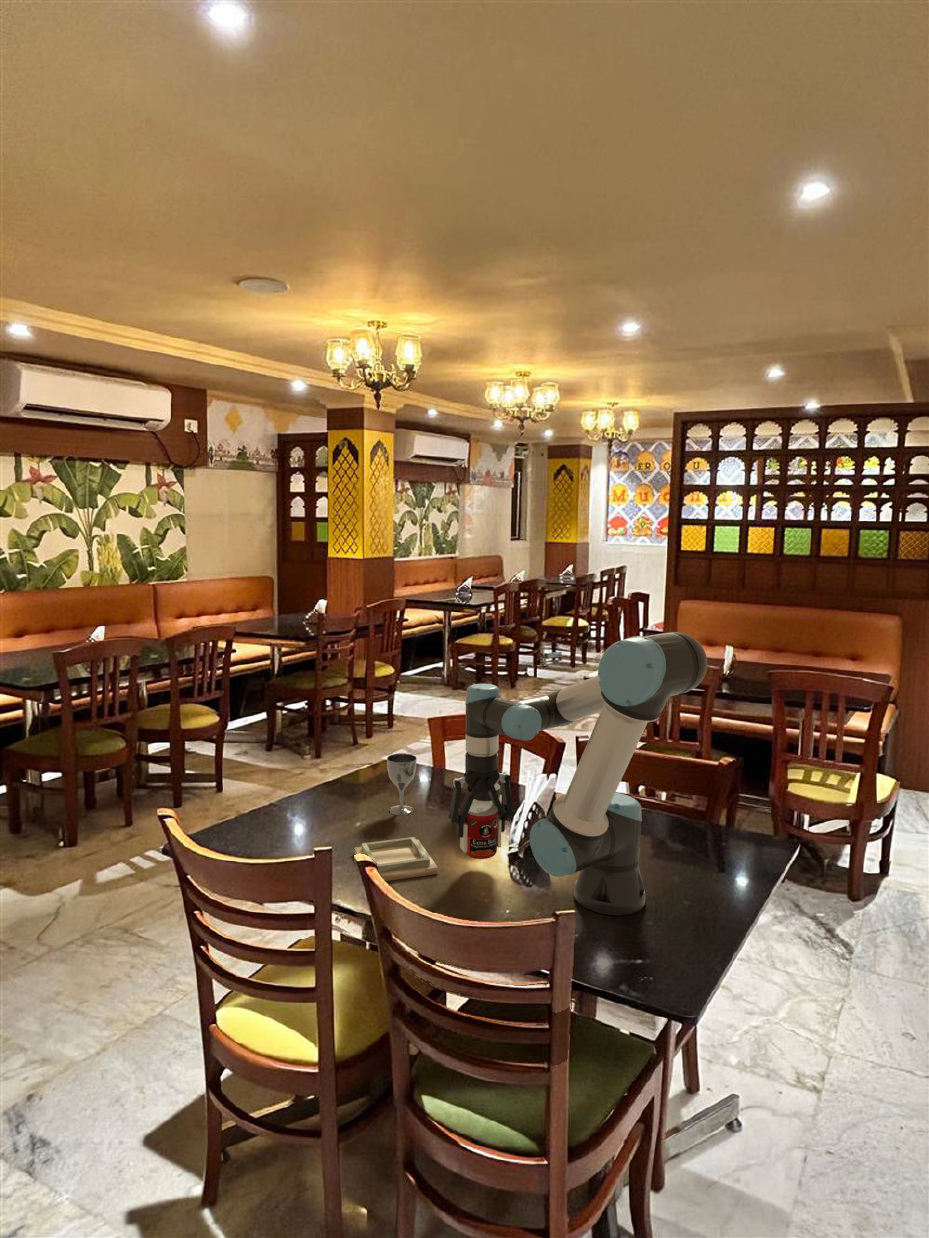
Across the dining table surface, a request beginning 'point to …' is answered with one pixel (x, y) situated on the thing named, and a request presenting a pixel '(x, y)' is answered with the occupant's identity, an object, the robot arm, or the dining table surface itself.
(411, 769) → the wine glass
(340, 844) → the dining table surface
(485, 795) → the jar
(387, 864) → the holder
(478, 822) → the canned food
